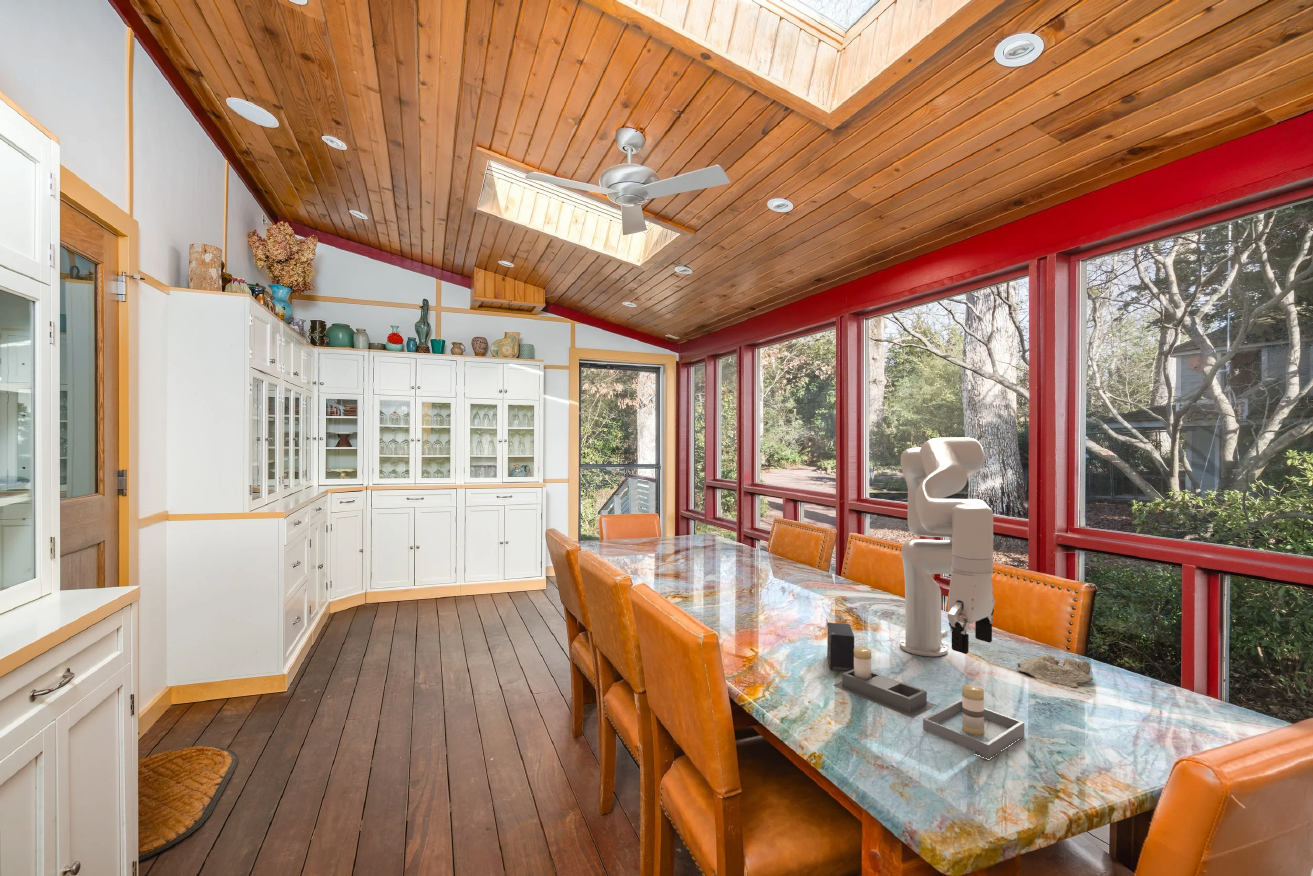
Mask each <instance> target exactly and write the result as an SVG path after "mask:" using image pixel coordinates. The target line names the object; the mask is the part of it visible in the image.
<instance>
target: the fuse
mask: <svg viewBox="0 0 1313 876" xmlns="http://www.w3.org/2000/svg"><path fill="white" fill-rule="evenodd" d="M871 671H872V649H870V648H868V647H864V646H857V647H854V677H857V678H859V679H862V680H865V681H866V680H869V679H871Z"/></svg>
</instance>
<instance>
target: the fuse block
mask: <svg viewBox="0 0 1313 876" xmlns="http://www.w3.org/2000/svg"><path fill="white" fill-rule="evenodd" d="M841 677H842V678H841V681H839V682H837V683H835V684H832V686H833V687H836V688H838V689H841V690H843V691H846V692H847V693H850V694H853V695H855V696H858V697H860V698H863V699H865V700H867V701H870V702H873V703H875V704H877V705H880V706H882V707H885V708H888V709H890V710H891V711H895V712H897V713H900V714H902V715H905V716H907V717H909V718H911V719H913V718H915V717H918V716H919V715H922V714H923V713H925V712H928V711H929V710H931V709H933V708H935V707H937V706H938V704H936V703H932V702H929V701H927V699H928V697H927V694H928V693H927V691H926V690H924V689H921V688H919V687H916V686H913V685H911V684H908V683H905V682H902V681H899V680H897V679H894V678H891V677H889V676H885V675H882V674H879V673H877V672H874V671H872V670H871V679H869V680H866V681H865V680H862V679H859V678H857V677H854V669H853V670H850V671H847V672H846V671H844V672H843V673H841Z"/></svg>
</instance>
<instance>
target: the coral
mask: <svg viewBox="0 0 1313 876" xmlns="http://www.w3.org/2000/svg"><path fill="white" fill-rule="evenodd" d="M1059 662H1060V660H1058V659H1056V658H1055V656H1053V655H1051V654H1049V653H1045V654H1043V655H1040V656H1036V657H1033V658H1025V659H1024V660H1022V661H1019V662H1017V665H1018V666H1019V667H1016V670H1017V671H1019V672H1021V673H1026V674H1028V675H1029V676H1032V677H1033V678H1035V679H1039V680H1042V681H1045V682H1046V683H1047V682H1049V683H1052V684H1055V685H1060V686H1064V687H1067V688H1072V689H1073V688H1079V686H1078V684H1089V683H1091V682H1092V681H1093V680H1094V679H1093V677H1091V676H1090V671H1091V666H1090V663H1089V662H1088V661H1087V660H1084V659H1081V660H1080V661H1079V660H1076V659H1074V658H1070V657H1066V658H1065V659H1064V662H1063V665H1062V666H1061V665H1060V663H1059Z"/></svg>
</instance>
